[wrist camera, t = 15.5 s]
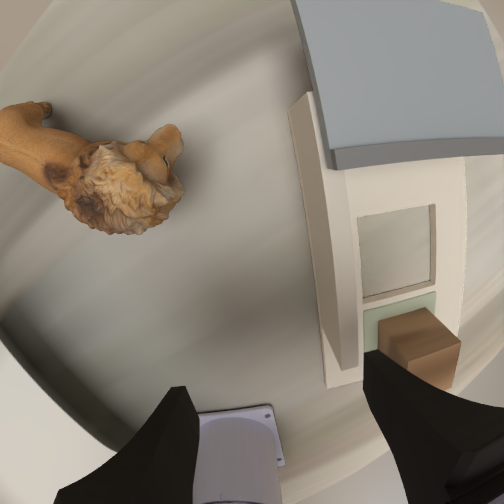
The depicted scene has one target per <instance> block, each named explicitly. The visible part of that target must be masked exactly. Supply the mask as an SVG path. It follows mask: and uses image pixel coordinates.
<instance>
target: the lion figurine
mask: <svg viewBox="0 0 504 504" xmlns="http://www.w3.org/2000/svg"><path fill="white" fill-rule="evenodd" d="M50 113H51V105H50V103H48V102H41V103H34V102H33V101H29V102H26V103H21V104H16V105H11V106H8V107H5V108H3V109H2V110H1V111H0V162H2V163H3V164H5V165H8V166H11V167H13V168H16V169H17V170H19V171H21V172H23V173H24V174H26V175H27V176H28V177H30V178H31V179H33V180H34V181H36V182H37V183H38V184H40V185H41V186H42V187H44V188H46V189H48V190H49V191H51V192H53V193H55V194H57V195H59V197H60V198H61V199H63V200H64V203H65V208H66V209H67V210H69V211H71V212H72V213H73V216H74V217H75V218H76V219H77V220H78V221H80V222H81V223H85V224H88V226H89V227H90V228H91V229H94V228H96V229H98V230H99V231H104V232H106V233H107V234H109V235H112V234H113V233H117V234H122V233H125V234H127V235H130V234H137V235H141V234H143V232H145V231H146V230H147V229H148V228H152V227H154V226H156V225H159V224H162V222H163V221H164V220H167V219H168V218H169V212H170V211H171V210H172V209H173V208H174V206H175V205H176V203H178V202H179V201H180V200H181V197H182V196H183V195H184V193H185V190H183V187H182V185H181V183H179V181H178V177H177V176H176V175H174V174H173V173H172V169H173V166H174V162H175V160H176V159H177V157H178V156H179V155H180V154H181V153H182V152H183V149H184V144H183V140H182V138H181V132H180V131H179V130H178V128H177V127H176V126H175V125H172V124H167V125H165V126H164V127H162V128H159V129H158V130H156V131H155V132H154V134H153V135H152V136H151V137H150V138H149V139H148V140H147V141H141V140H138V141H134V142H131V143H129V144H126V143H124V142H120V141H113V142H112V141H101V142H95V143H92V144H91V143H90V142H89V141H87V140H85V139H84V138H82V137H80V136H78V135H75V134H73V133H70V132H66V131H62V130H59V129H53V128H45V127H43V126H42V125H41V123H42V118H46V117H47V116H48V115H50Z"/></svg>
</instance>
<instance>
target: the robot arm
mask: <svg viewBox="0 0 504 504" xmlns="http://www.w3.org/2000/svg"><path fill="white" fill-rule="evenodd" d="M363 391H364V393H365V396H366V399H367V402H368V405H369V407H370V410H371V412H372V414H373V416H374V418H375V420H376V421H377V423H378V425H379V427H380V429H381V431H382V433H383V435H384V437H385V439H386V441H387V443H388V445H389V447H390V449H391V451H392V453H393V455H394V459H395V461H396V464H397V467H398V470H399V473H400V476H401V479H402V482H403V485H404V489H405V493H406V496H407V500H408V504H504V408H502V407H494V406H489V405H485V404H480V403H476V402H472V401H469V400H466V399H463V398H460V397H457V396H455V395H452V394H450V393H448V392H445V391H443V390H441V389H439V388H437V387H435V386H433V385H431V384H429V383H427V382H425V381H424V380H422V379H420V378H419V377H417V376H415V375H414V374H412V373H411V372H409V371H408V370H406V369H405V368H403V367H402V366H400V365H399V364H398V363H396V362H395V361H393V360H392V359H391V358H389V357H388V356H387V355H385V354H384V353H382V352H381V351H380V350H378V349H376V350H372V351H368V352H365V353H363ZM266 414H269V415H266ZM284 465H285V459H284V455H283V451H282V447H281V442H280V438H279V434H278V430H277V426H276V421H275V417H274V413H273V408H272V407H271V406H268V405H265V406H259V407H253V408H246V409H239V410H231V411H223V412H214V413H205V414H197V412H196V410H195V407H194V405H193V403H192V401H191V398H190V396H189V394H188V391H187V389H186V387H185V386H179V387H171V388H170V390H169V391H168V392H167V394H166V395H165V396H164V398H163V399H162V401H161V402H160V403H159V405H158V406H157V408H156V409H155V410H154V412H153V413H152V414H151V416H150V417H149V418H148V420H147V421H146V422H145V424H144V425H143V426H142V427H141V428H140V430H139V431H138V432H137V433H136V434H135V436H134V437H133V438H132V439H131V440H130V441H129V442H128V443H127V444H126V445H125V446H124V447H123V448H122V449H121V450H120V451H119V452H118V453H117V454H116V455H115V456H113V457H112V458H111V459H109V460H108V461H107V462H106V463H104V464H103V465H102V466H101V467H99V468H98V469H96V470H95V471H93V472H92V473H90V474H88V475H87V476H85V477H84V478H82V479H80V480H78V481H77V482H74V483H72V484H70V485H68V486H66V487H64V488H62V489H59V491H58V493H57V496H56V498H55V501H54V503H53V504H282V497H281V489H280V481H279V473H278V467H281V466H284Z"/></svg>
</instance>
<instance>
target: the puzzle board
mask: <svg viewBox="0 0 504 504" xmlns="http://www.w3.org/2000/svg"><path fill="white" fill-rule="evenodd" d="M287 113H288V118H289V123H290V128H291V133H292V138H293V144H294V149H295V155H296V160H297V166H298V172H299V178H300V184H301V190H302V196H303V202H304V208H305V215H306V221H307V228H308V235H309V242H310V249H311V257H312V264H313V272H314V280H315V288H316V296H317V305H318V314H319V323H320V333H321V343H322V354H323V365H324V378H325V385H326V387H327V389H330V388H334V387H338V386H342V385H346V384H350V383H354V382H357V381H361V380H363V353H365V352H368V351H372V350H376V349H377V348H378V321H379V320H383V319H386V318H390V317H393V316H397V315H400V314H404V313H407V312H410V311H414V310H417V309H420V308H424V307H426V308H427V309H428V310H429V311H430V312H431V313H432V314H433V315H434V316H435V317H436V318H437V319H439V320H440V321H441V322H442V323H443V324H444V325H445V326H446V327H447V328H448V329H449V330H450V331H451V332H452V333H453V334H454V335H455V336H456V337H457V335H458V329H459V323H460V316H461V308H462V300H463V290H464V280H465V266H466V246H467V199H466V179H465V165H464V157H451V158H439V159H429V160H419V161H409V162H400V163H391V164H383V165H375V166H367V167H360V168H353V169H346V170H339V171H337V170H332V169H328V168H327V162H326V156H325V150H324V144H323V138H322V133H321V128H320V122H319V117H318V112H317V107H316V102H315V97H314V92H306V93H305V94H304V95H303V96H302V97H301V98H300V99H299V100H298V101H296V102H295V103H294V104H293V105H292V106H291V107H290V108H289V109H288V110H287ZM424 205H429V206H430V234H431V264H430V281H427V282H423V283H420V284H416V285H413V286H409V287H405V288H401V289H398V290H394V291H390V292H386V293H382V294H378V295H374V296H370V297H366V298H363V297H362V278H361V262H360V249H359V238H358V227H357V217H362V216H368V215H373V214H379V213H384V212H390V211H396V210H401V209H407V208H413V207H419V206H424Z"/></svg>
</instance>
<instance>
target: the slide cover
mask: <svg viewBox="0 0 504 504" xmlns="http://www.w3.org/2000/svg"><path fill="white" fill-rule="evenodd" d="M290 1H291V4H292V8H293V11H294V15H295V18H296V22H297V26H298V30H299V33H300V37H301V41H302V45H303V49H304V53H305V57H306V61H307V66H308V70H309V74H310V79H311V83H312V88H313V92H314V97H315V102H316V107H317V112H318V117H319V122H320V128H321V133H322V138H323V144H324V150H325V156H326V162H327V168H328V169H332V170H337V171H339V170H346V169H353V168H360V167H367V166H375V165H383V164H391V163H400V162H409V161H419V160H429V159H439V158H451V157H464V156H478V155H495V154H504V85H503V80H502V76H501V72H500V67H499V64H498V60H497V56H496V52H495V49H494V45H493V42H492V39H491V36H490V33H489V29H488V27H487V24H486V21H485V18H484V15H483V13H482V12H479V11H476V10H472V9H469V8H465V7H462V6H458V5H454V4H450V3H446V2H441V1H437V0H290Z"/></svg>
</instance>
